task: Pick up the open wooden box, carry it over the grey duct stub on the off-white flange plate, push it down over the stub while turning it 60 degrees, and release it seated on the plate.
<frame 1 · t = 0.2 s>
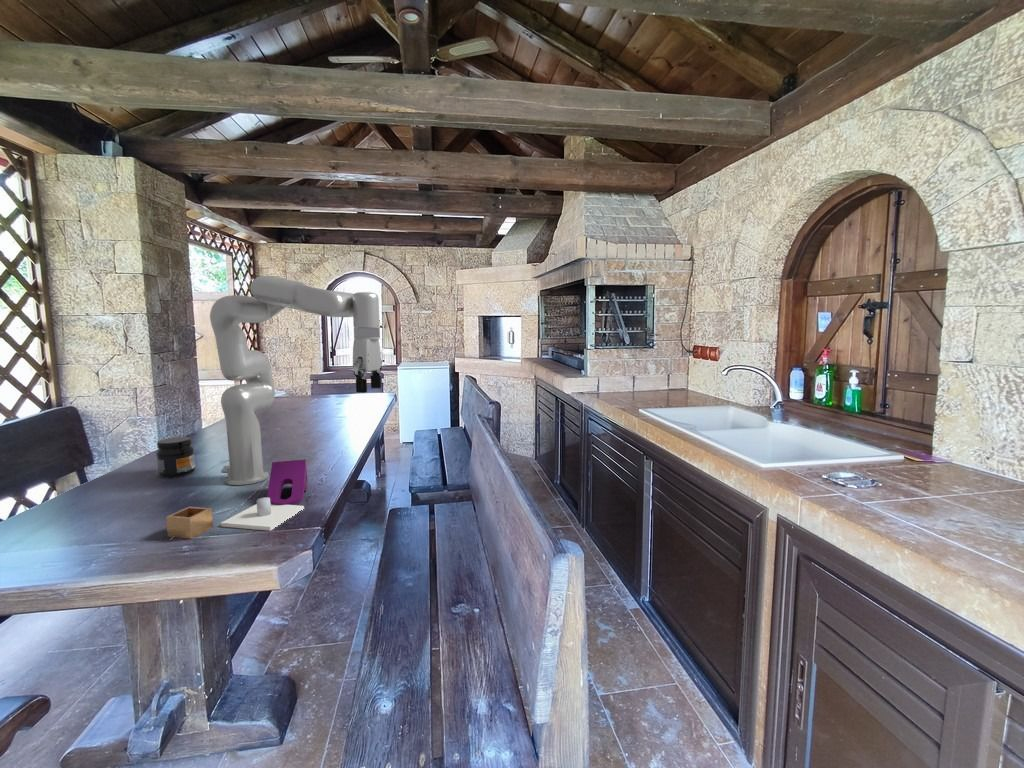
hand: (369, 390, 146), 31 cm above the table, tool pointing down, fingers open, 9 cm apart
mounting bracket: (288, 499, 142), on the table, touching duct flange
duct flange: (264, 517, 127), on the table
open wooden box: (191, 531, 118), on the table
supplement container: (177, 474, 164), on the table
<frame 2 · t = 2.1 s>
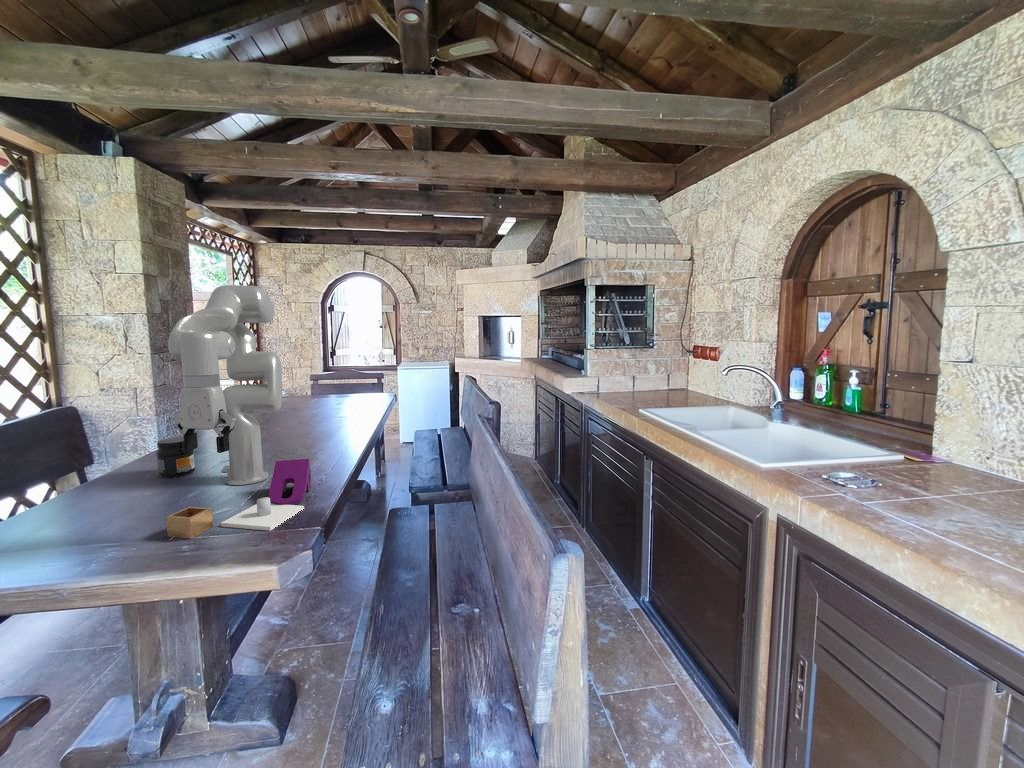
hand: (207, 450, 119), 20 cm above the table, tool pointing down, fingers open, 9 cm apart
mounting bracket: (290, 498, 142), on the table
everything else where it was.
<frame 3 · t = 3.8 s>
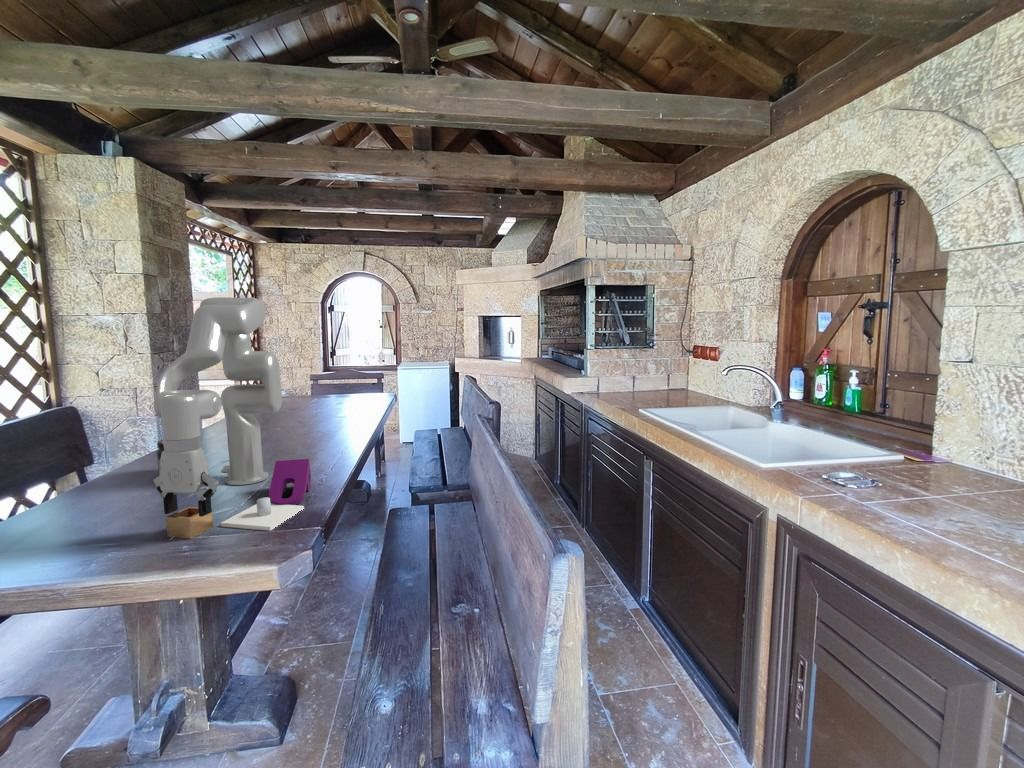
hand: (188, 513, 117), 5 cm above the table, tool pointing down, fingers open, 9 cm apart
nothing on the table moved.
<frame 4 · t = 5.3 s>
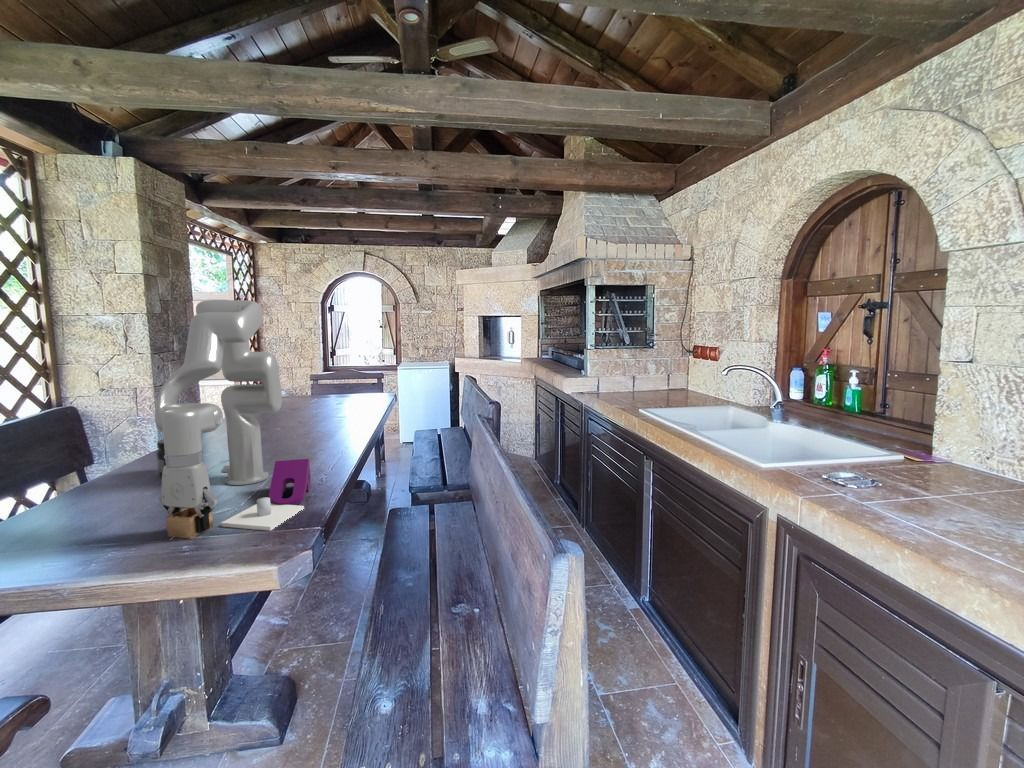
hand: (190, 529, 118), 1 cm above the table, tool pointing down, fingers closed on open wooden box, 6 cm apart
open wooden box: (191, 531, 118), on the table, touching gripper
everything else where it was.
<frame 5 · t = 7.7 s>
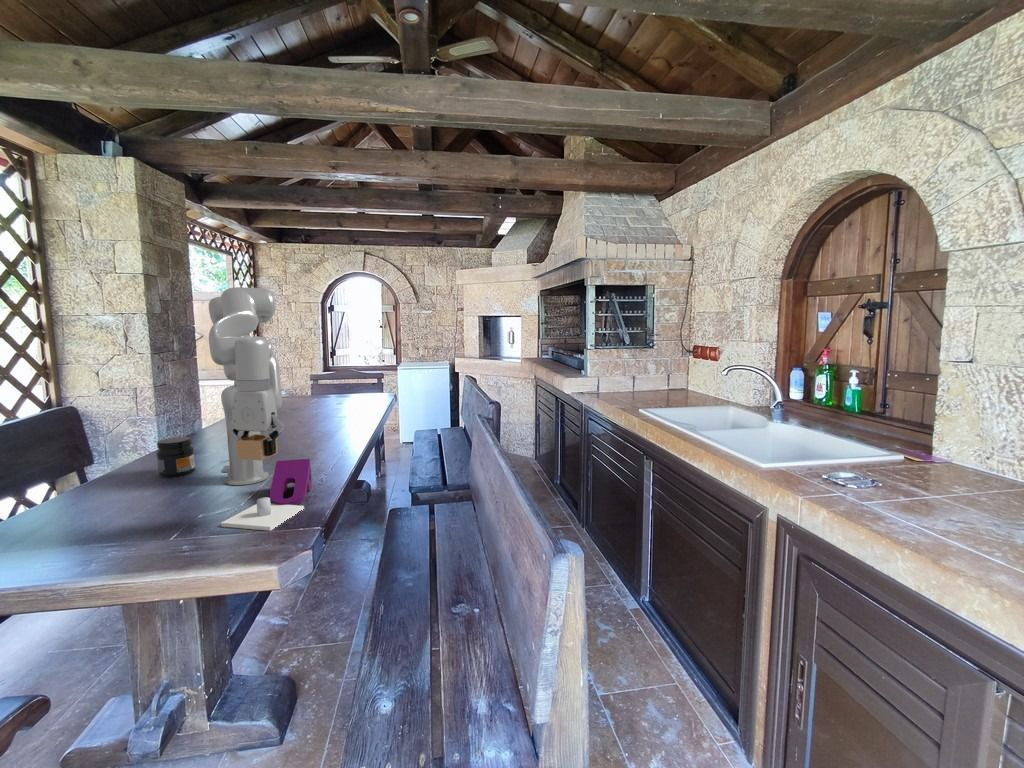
hand: (258, 453, 124), 18 cm above the table, tool pointing down, fingers closed on open wooden box, 6 cm apart
open wooden box: (258, 456, 124), point 17 cm above the table, touching gripper
everything else where it was.
when the fingers open (3 cm above the table, at t = 10.2 s): open wooden box stays where it is, resting on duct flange.
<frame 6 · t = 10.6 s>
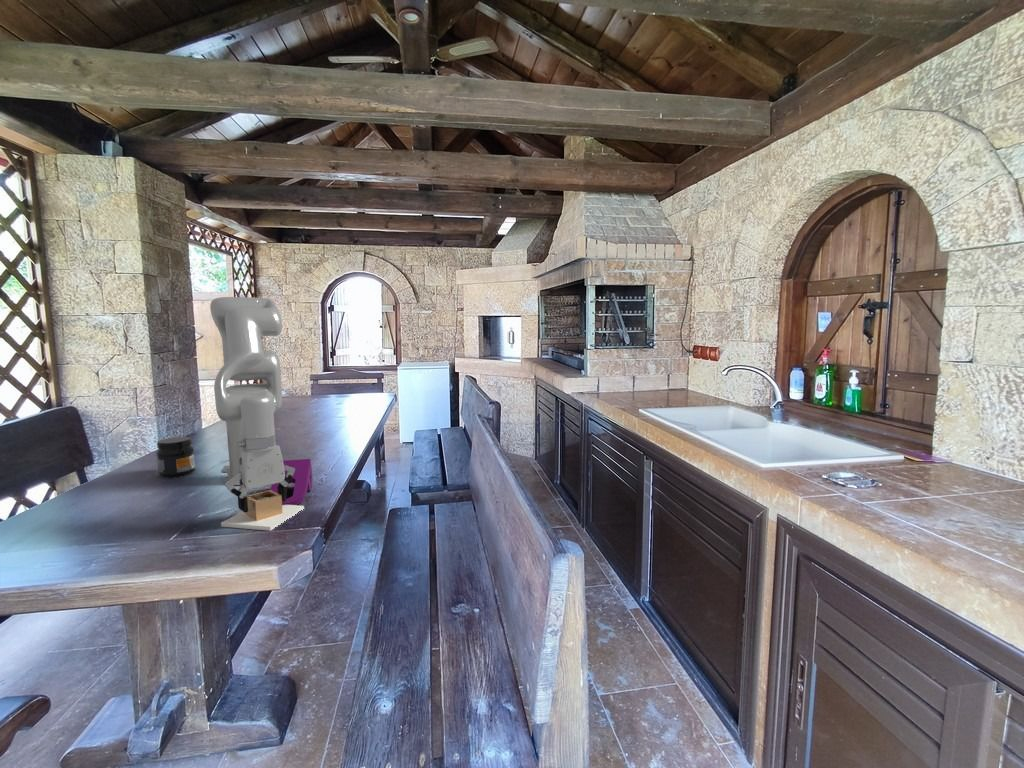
hand: (263, 505, 126), 3 cm above the table, tool pointing down, fingers open, 9 cm apart
open wooden box: (264, 513, 127), point 1 cm above the table, touching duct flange
everything else where it was.
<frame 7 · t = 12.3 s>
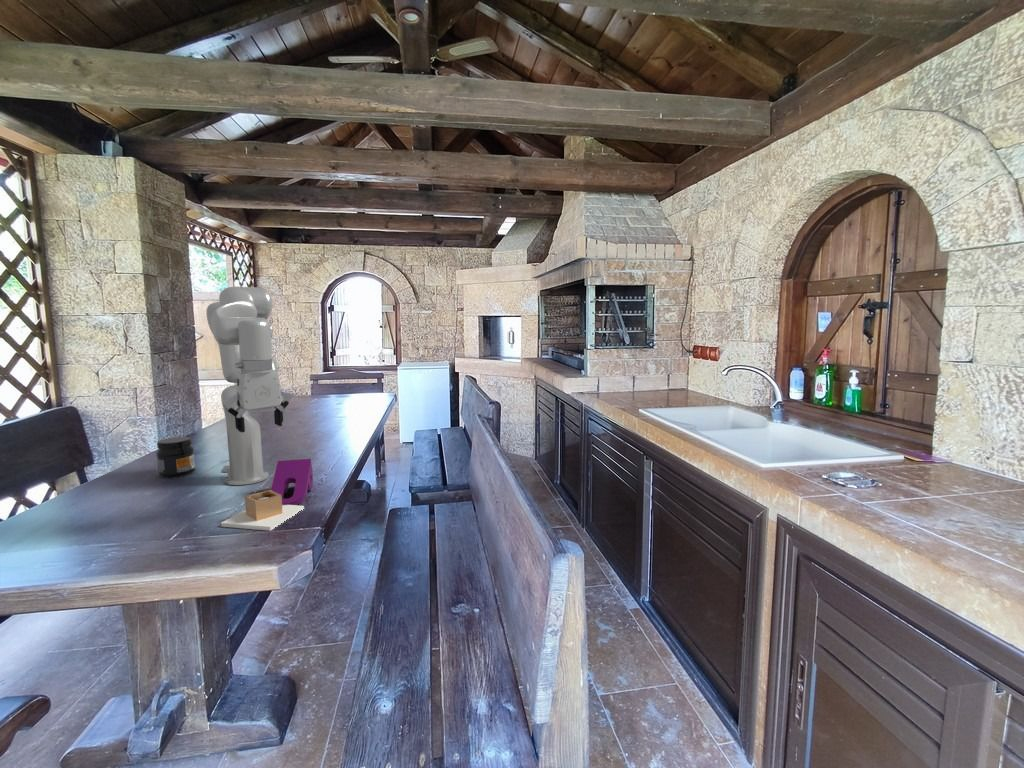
hand: (260, 428, 130), 23 cm above the table, tool pointing down, fingers open, 9 cm apart
nothing on the table moved.
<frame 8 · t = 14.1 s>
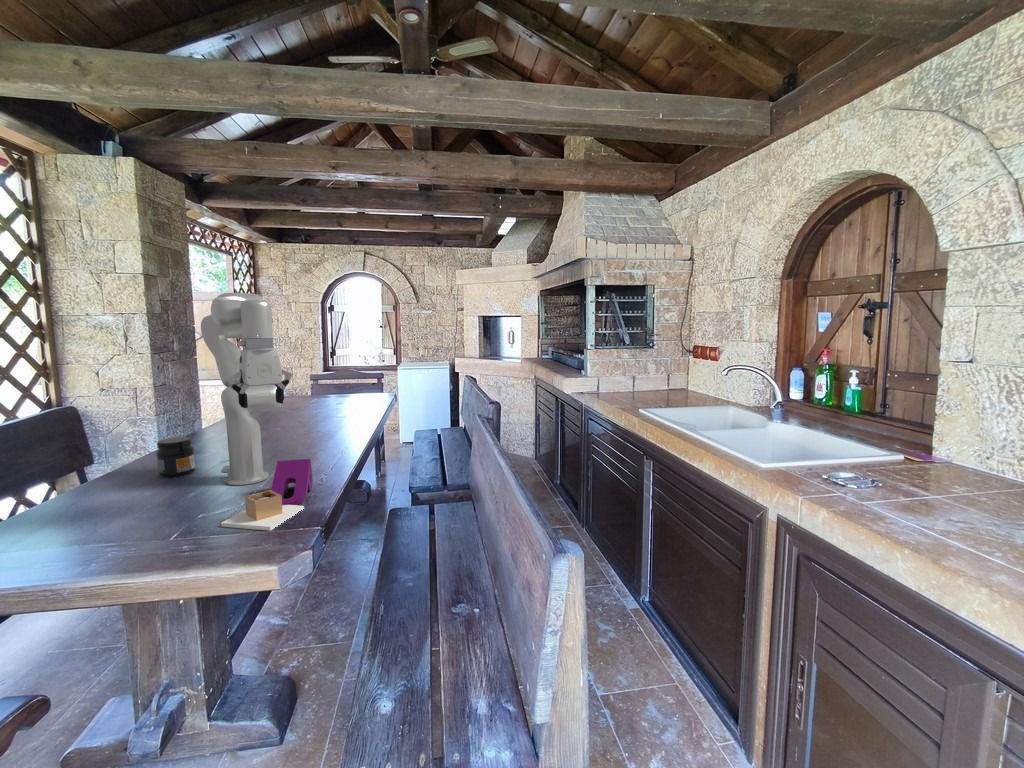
hand: (262, 405, 135), 28 cm above the table, tool pointing down, fingers open, 9 cm apart
nothing on the table moved.
at the end: open wooden box 0.0 cm off-centre on the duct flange, point 1.0 cm above the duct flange's base; open wooden box tilted 0°; the gripper is holding nothing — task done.
